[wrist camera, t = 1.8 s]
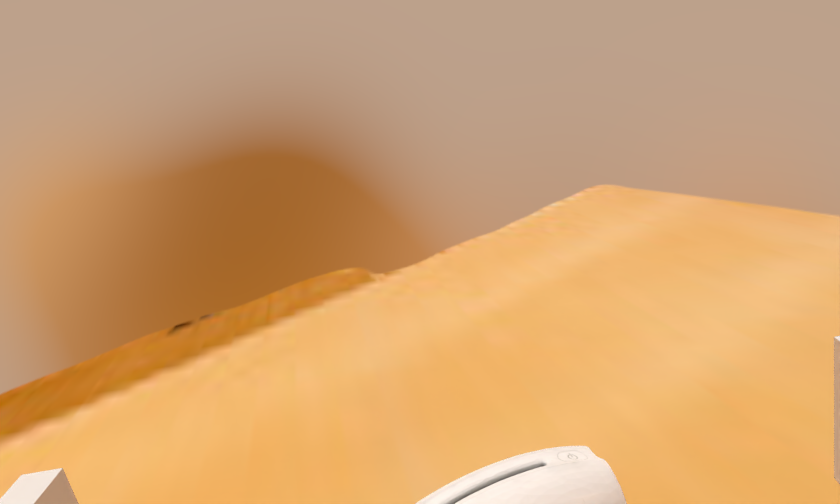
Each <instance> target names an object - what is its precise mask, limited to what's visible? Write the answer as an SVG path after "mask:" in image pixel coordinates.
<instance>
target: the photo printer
mask: <svg viewBox="0 0 840 504" xmlns="http://www.w3.org/2000/svg"><path fill="white" fill-rule="evenodd" d="M416 504H627V503H626V500H625V497H624V494H623V492H622V489H621V487H620V485H619V483H618V481H617V479H616V477H615V475H614V473H613V471H612V470H611V468H610V466H609V465H608V463H607V462H606V461H605V460H604V459H601V458H599V457H597V456H596V455H595V454H594V453H593V452H592V451H591V450H590V448H589V447H587V446H565V447H555V448H548V449H543V450H538V451H533V452H529V453H524V454H521V455H517V456H514V457H511V458H508V459H505V460H502V461H499V462H496V463H493V464H491V465H488V466H486V467H483V468H481V469H478V470H476V471H474V472H472V473H469V474H467V475H465V476H463V477H461V478H459V479H457V480H455V481H453V482H451V483H449V484H447V485H445V486H443V487H442V488H440V489H438V490H436V491H435V492H433V493H431V494H430V495H428V496H426V497H425V498H423V499H421V500H420V501H419V502H417V503H416Z"/></svg>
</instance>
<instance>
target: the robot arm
mask: <svg viewBox="0 0 840 504" xmlns="http://www.w3.org/2000/svg"><path fill="white" fill-rule="evenodd" d="M834 478H835V479H836V481H837V482H838V483H839V484H840V336H837V337H834ZM0 504H78V502H77V499H76V497H75V495H74V493H73V490H72V488H71V486H70V484H69V481H68V479H67V477H66V475H65V472H64V470H63V468H60V469H54V470H48V471H43V472H37V473H31V474H25V475H21V476H20V477H19V478H18V479H17V481H16V482H15V483H14V484H13V485H12V486H11V487H10V489H9V490H8V491H7V492H6V493H5V494H4V495H3V496H2V498H1V499H0Z"/></svg>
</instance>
